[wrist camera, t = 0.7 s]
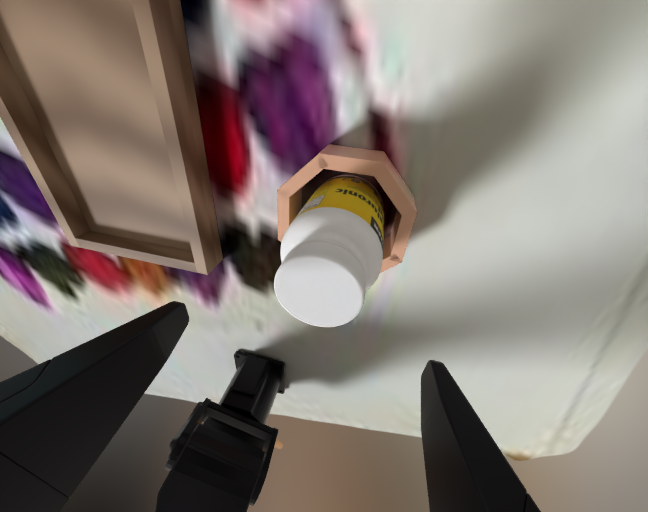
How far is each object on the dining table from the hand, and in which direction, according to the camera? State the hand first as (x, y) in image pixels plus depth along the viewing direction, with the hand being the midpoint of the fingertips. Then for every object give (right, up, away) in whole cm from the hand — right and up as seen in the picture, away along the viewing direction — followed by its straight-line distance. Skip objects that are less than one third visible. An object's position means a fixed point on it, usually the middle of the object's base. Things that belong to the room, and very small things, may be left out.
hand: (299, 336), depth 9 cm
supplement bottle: (+3, +6, +10) cm, 12 cm away
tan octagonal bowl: (+3, +6, +10) cm, 12 cm away
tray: (-15, +12, +10) cm, 22 cm away
